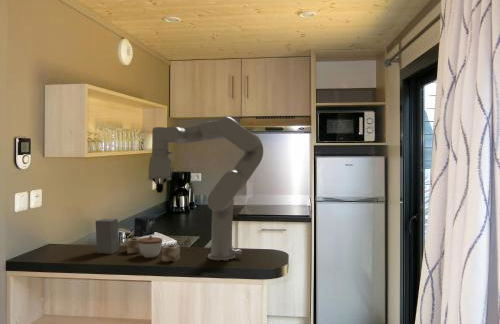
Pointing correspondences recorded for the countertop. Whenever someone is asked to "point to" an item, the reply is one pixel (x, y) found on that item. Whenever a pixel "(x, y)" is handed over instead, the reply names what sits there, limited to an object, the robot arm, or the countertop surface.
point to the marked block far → (133, 245)
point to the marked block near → (170, 253)
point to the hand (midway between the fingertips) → (159, 192)
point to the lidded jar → (150, 246)
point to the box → (144, 226)
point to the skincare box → (107, 236)
